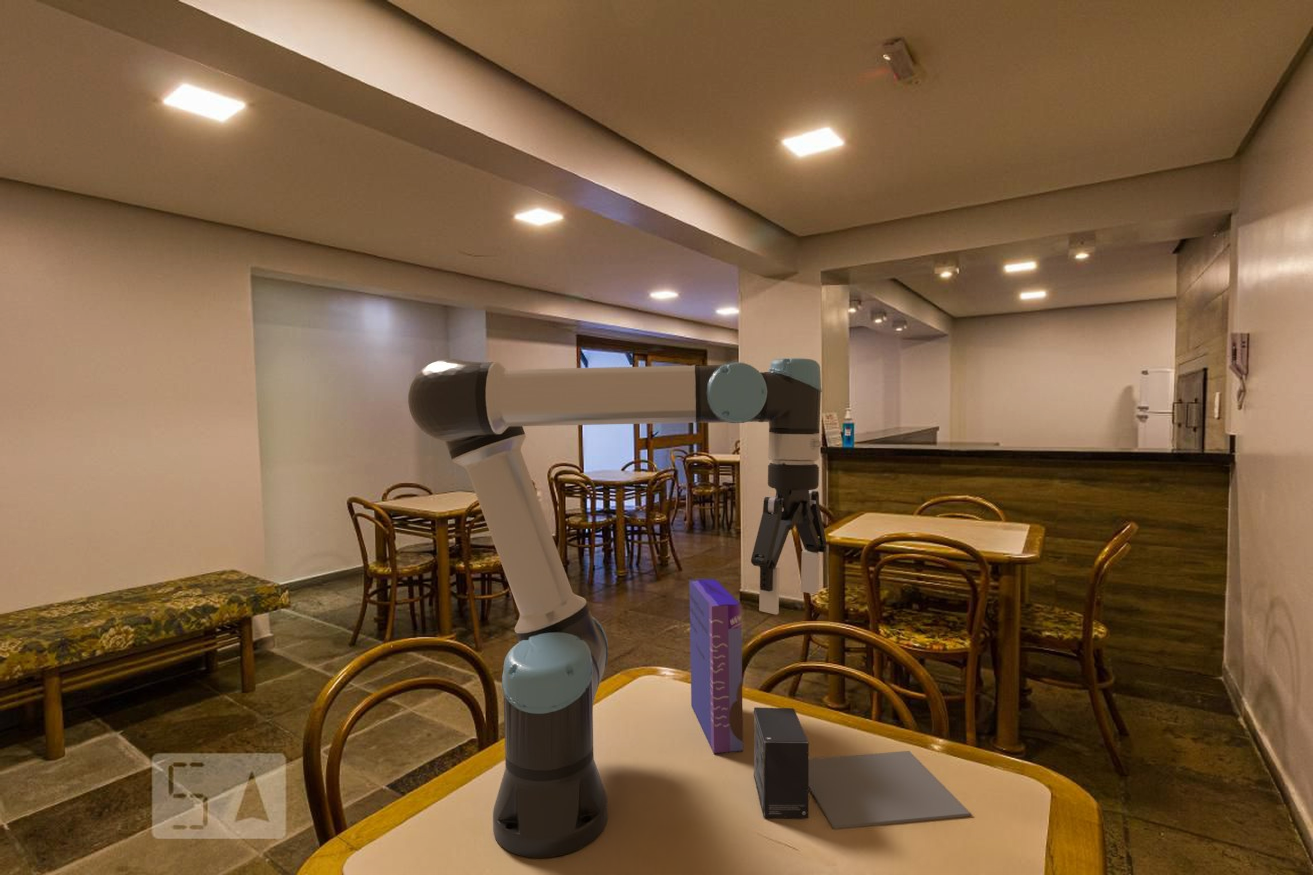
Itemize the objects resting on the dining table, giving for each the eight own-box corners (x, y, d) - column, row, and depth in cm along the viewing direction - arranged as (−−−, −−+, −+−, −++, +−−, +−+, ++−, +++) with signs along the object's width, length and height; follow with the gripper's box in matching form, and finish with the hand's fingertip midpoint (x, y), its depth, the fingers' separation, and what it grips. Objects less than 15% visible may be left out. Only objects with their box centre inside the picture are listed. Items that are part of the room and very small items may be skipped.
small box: (812, 819, 84) (811, 741, 84) (763, 819, 84) (762, 742, 84) (796, 774, 95) (795, 705, 94) (752, 775, 95) (751, 706, 95)
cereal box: (743, 751, 102) (741, 603, 101) (714, 754, 101) (711, 605, 100) (716, 703, 119) (714, 576, 118) (691, 705, 118) (689, 578, 117)
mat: (833, 828, 82) (833, 825, 82) (792, 762, 98) (792, 760, 98) (970, 815, 84) (970, 812, 84) (909, 753, 100) (909, 750, 100)
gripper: (776, 467, 83) (773, 627, 84) (849, 460, 103) (845, 589, 103) (728, 464, 88) (725, 615, 89) (806, 457, 107) (803, 581, 108)
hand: (790, 602), depth 96 cm, fingers open, 13 cm apart
